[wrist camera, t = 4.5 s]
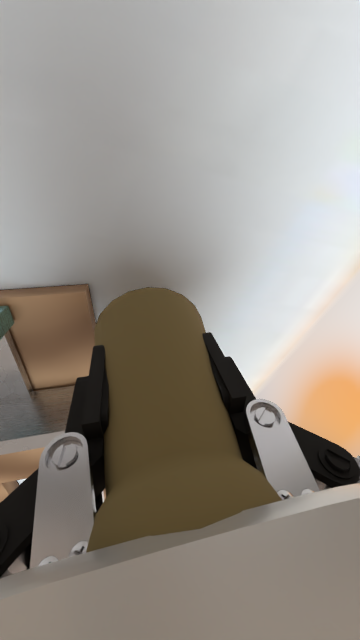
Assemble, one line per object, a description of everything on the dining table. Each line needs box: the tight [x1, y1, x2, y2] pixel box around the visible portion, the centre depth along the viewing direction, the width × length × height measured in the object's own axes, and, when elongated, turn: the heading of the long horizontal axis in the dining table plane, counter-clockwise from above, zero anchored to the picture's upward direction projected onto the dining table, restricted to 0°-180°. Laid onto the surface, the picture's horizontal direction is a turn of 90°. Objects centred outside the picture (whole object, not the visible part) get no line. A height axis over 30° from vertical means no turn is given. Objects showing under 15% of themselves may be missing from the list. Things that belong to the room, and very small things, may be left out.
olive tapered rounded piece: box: [86, 287, 282, 553], centre depth 9 cm, size 6×6×11 cm
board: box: [0, 284, 106, 503], centre depth 21 cm, size 28×14×2 cm, turn 0°
